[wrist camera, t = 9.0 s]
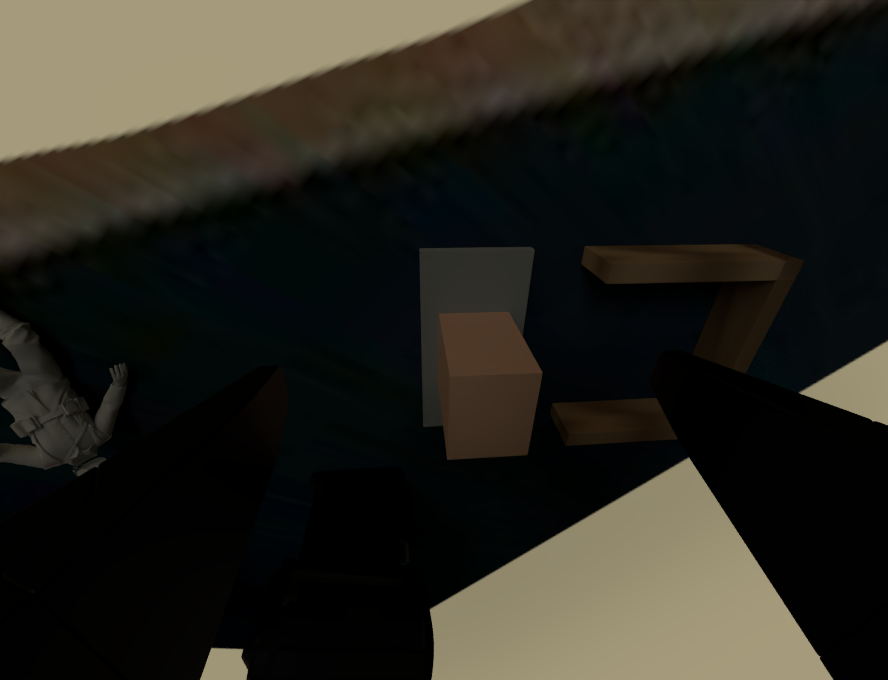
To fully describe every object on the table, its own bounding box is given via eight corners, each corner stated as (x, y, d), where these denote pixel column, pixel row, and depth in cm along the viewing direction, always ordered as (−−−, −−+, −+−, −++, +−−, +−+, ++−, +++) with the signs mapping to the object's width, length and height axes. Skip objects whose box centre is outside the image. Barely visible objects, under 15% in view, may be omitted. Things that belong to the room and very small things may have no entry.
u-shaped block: (549, 414, 26) (565, 445, 23) (585, 246, 20) (611, 264, 17) (682, 407, 27) (711, 437, 24) (754, 243, 21) (804, 260, 18)
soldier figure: (52, 254, 19) (182, 449, 21) (68, 278, 23) (176, 441, 25) (-213, 315, 14) (-8, 556, 16) (-138, 332, 18) (20, 526, 20)
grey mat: (423, 420, 25) (423, 426, 25) (419, 248, 19) (419, 251, 19) (508, 416, 26) (510, 422, 25) (531, 246, 20) (534, 250, 19)
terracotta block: (438, 384, 23) (447, 459, 18) (438, 313, 20) (449, 376, 15) (500, 382, 23) (527, 455, 18) (508, 311, 21) (542, 373, 16)
